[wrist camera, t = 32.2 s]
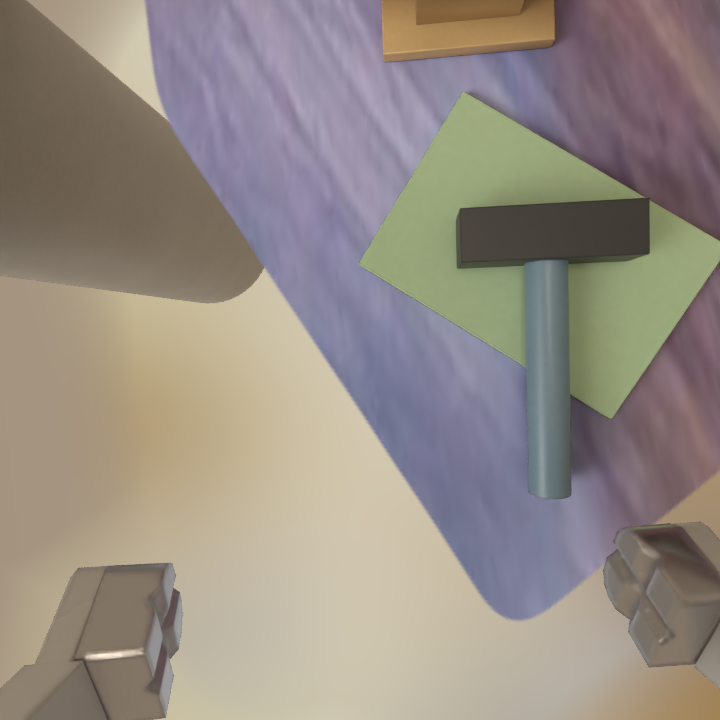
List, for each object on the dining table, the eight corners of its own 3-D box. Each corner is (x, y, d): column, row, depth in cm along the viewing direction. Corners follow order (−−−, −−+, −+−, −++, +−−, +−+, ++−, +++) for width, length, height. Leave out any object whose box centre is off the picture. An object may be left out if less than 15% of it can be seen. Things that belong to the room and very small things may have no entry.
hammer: (630, 487, 32) (652, 502, 29) (461, 487, 33) (466, 502, 30) (627, 209, 32) (650, 197, 29) (455, 219, 33) (459, 207, 30)
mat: (359, 265, 34) (358, 263, 33) (462, 95, 33) (463, 90, 32) (608, 418, 33) (611, 419, 32) (724, 248, 32) (730, 246, 31)
